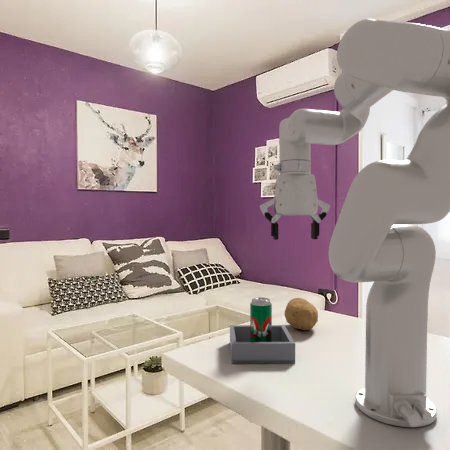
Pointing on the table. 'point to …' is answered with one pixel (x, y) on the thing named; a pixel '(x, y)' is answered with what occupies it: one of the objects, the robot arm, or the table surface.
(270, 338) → the soda can
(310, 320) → the potato
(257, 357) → the bin
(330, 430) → the table surface
